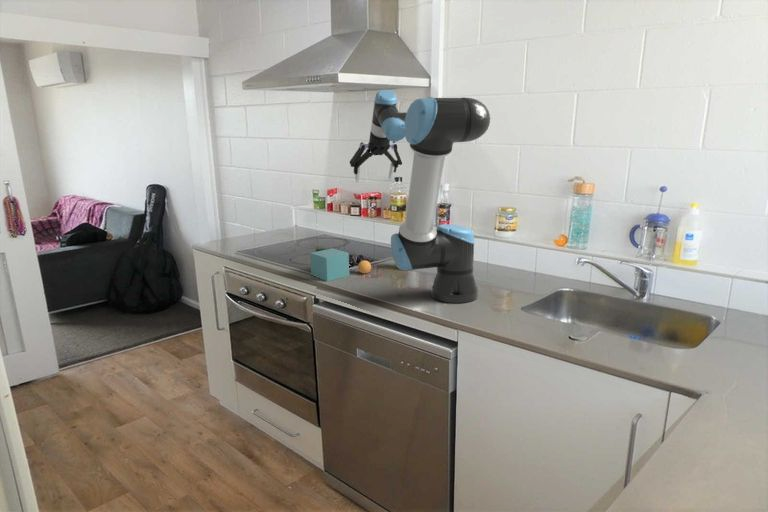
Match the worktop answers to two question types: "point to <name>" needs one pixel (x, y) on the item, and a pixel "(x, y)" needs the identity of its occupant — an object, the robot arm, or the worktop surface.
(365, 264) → the ball
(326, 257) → the teal foam cube
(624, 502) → the worktop surface
